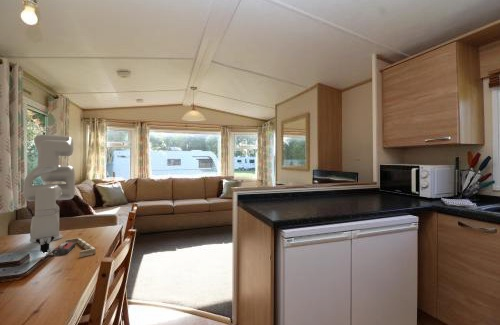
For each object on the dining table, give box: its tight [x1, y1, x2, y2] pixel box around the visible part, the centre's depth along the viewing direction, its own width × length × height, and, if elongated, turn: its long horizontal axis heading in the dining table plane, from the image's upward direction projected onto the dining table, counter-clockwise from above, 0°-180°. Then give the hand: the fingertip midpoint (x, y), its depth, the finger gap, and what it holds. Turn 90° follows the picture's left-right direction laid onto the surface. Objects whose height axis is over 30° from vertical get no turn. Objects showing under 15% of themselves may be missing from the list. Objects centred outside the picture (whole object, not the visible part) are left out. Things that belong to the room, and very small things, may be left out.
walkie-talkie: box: [50, 241, 76, 256], centre depth 118 cm, size 9×4×20 cm
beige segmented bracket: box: [65, 237, 97, 258], centre depth 125 cm, size 27×6×2 cm, turn 49°
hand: (44, 252), depth 114 cm, fingers closed
